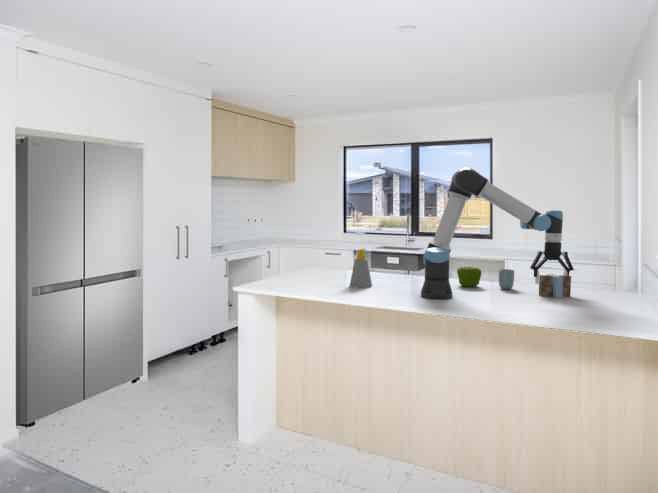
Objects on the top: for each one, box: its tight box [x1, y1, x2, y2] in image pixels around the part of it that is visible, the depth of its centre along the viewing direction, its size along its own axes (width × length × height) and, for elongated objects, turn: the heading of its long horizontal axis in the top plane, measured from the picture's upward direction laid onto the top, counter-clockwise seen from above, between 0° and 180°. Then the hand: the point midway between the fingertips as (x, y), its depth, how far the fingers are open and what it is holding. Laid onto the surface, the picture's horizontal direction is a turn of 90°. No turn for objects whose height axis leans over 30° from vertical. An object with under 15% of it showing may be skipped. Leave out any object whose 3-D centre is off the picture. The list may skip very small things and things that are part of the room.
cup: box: [498, 268, 515, 290], centre depth 265 cm, size 8×8×10 cm
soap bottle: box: [349, 248, 373, 289], centre depth 274 cm, size 12×12×20 cm
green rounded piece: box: [456, 266, 482, 288], centre depth 274 cm, size 12×12×11 cm
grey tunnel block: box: [546, 273, 563, 299], centre depth 245 cm, size 12×3×10 cm, turn 176°
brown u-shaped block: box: [538, 274, 572, 298], centre depth 245 cm, size 14×3×10 cm, turn 86°
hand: (550, 284), depth 250 cm, fingers open, 13 cm apart
